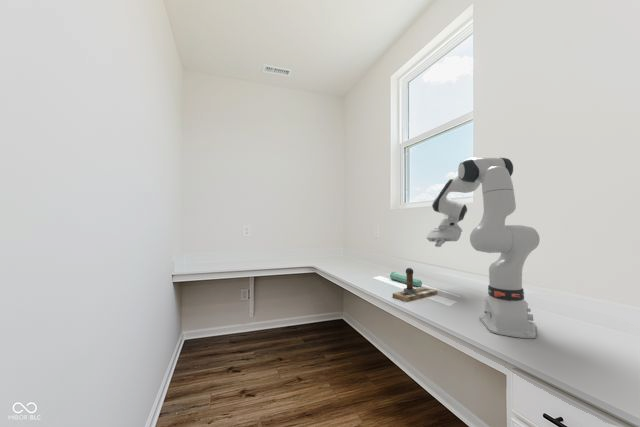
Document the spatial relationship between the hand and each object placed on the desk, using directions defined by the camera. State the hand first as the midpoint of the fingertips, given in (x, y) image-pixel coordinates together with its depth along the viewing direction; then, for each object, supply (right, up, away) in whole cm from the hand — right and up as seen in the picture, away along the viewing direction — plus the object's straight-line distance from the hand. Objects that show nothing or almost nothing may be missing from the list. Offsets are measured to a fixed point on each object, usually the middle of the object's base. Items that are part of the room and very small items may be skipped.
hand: (437, 246), depth 161 cm
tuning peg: (-18, -24, -11) cm, 32 cm away
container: (-11, -27, +22) cm, 37 cm away
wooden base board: (-15, -26, -8) cm, 31 cm away
